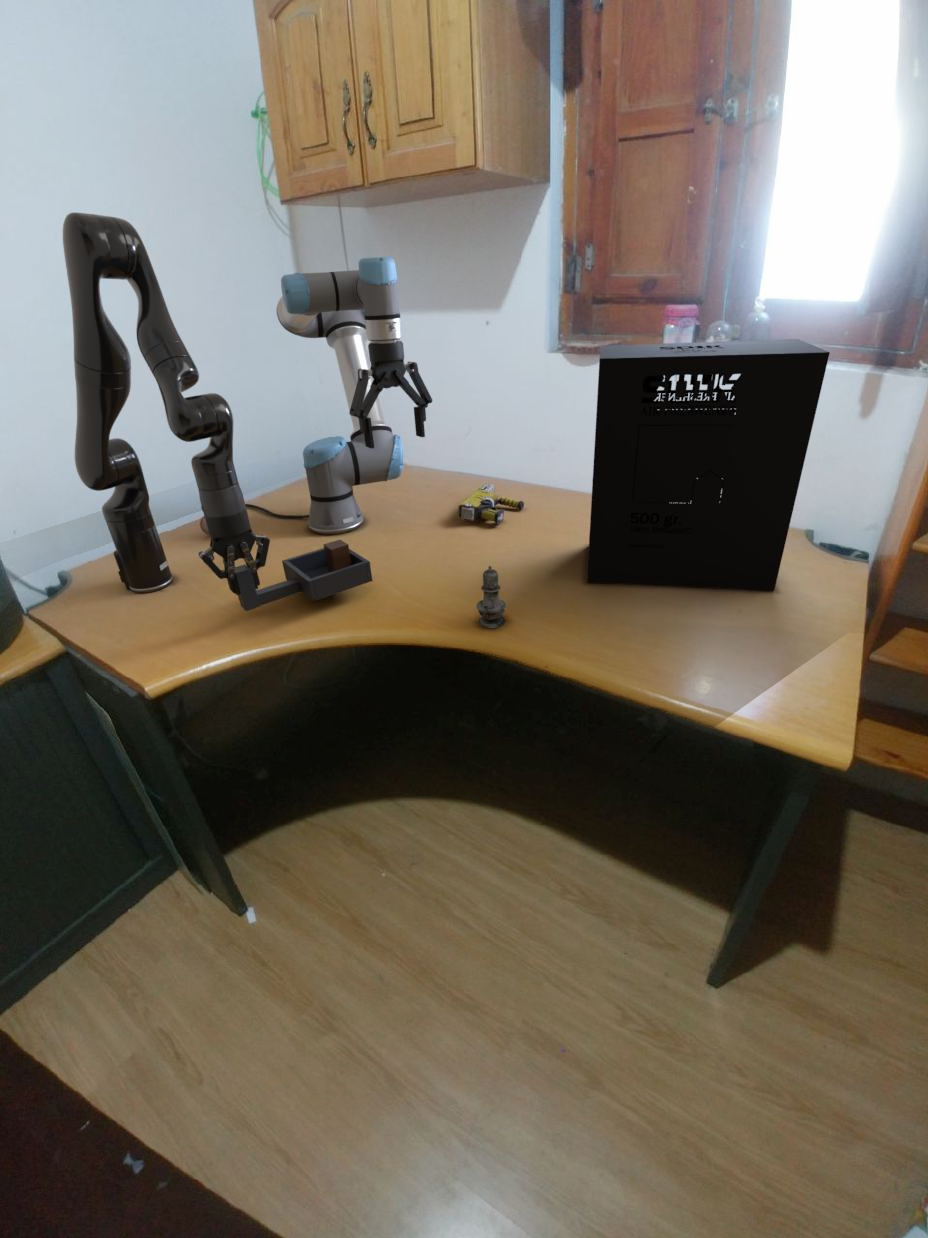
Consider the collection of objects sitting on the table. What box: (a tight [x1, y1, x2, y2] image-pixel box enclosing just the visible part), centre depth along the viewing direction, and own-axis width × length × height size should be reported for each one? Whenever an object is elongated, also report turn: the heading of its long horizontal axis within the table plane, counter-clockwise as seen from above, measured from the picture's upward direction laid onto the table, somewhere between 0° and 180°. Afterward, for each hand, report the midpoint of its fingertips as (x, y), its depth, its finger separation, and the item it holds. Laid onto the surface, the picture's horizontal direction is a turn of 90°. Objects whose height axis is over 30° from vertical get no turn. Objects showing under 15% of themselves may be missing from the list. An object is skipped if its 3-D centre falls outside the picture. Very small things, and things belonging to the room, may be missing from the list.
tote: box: [234, 547, 373, 612], centre depth 126 cm, size 26×14×8 cm, turn 127°
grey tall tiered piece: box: [475, 565, 507, 629], centre depth 116 cm, size 6×6×12 cm
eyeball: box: [199, 515, 210, 536], centre depth 166 cm, size 6×6×6 cm
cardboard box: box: [586, 338, 831, 592], centre depth 124 cm, size 38×20×45 cm, turn 78°
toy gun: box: [457, 482, 525, 525], centre depth 171 cm, size 5×24×15 cm
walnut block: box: [323, 539, 351, 573], centre depth 131 cm, size 4×4×7 cm
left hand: (246, 590), depth 121 cm, fingers closed on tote, 3 cm apart
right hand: (395, 441), depth 139 cm, fingers open, 13 cm apart
